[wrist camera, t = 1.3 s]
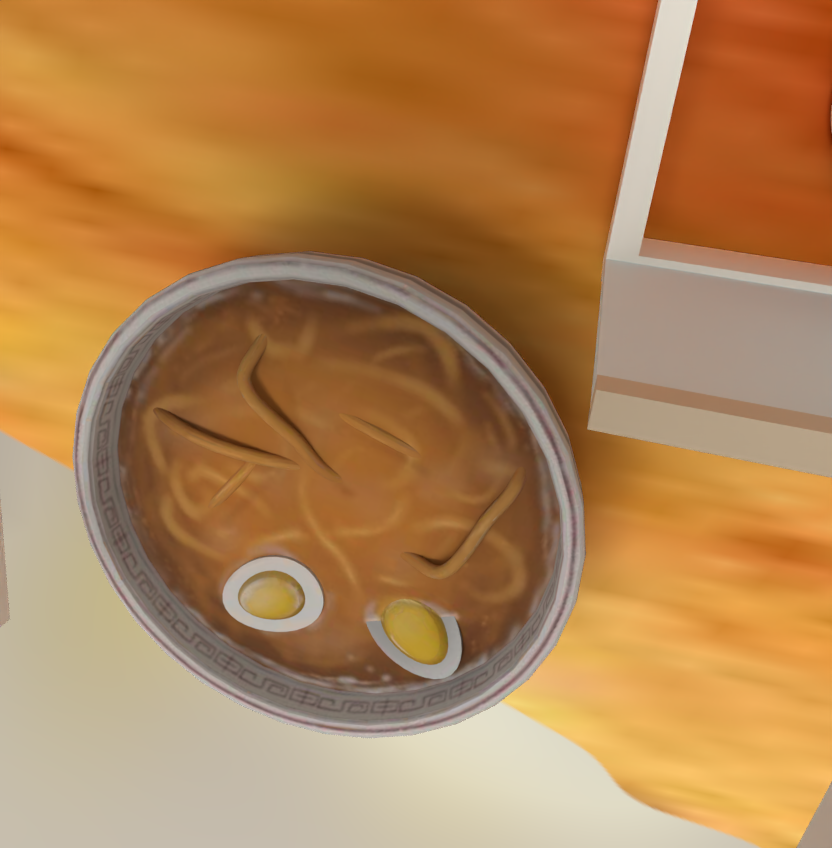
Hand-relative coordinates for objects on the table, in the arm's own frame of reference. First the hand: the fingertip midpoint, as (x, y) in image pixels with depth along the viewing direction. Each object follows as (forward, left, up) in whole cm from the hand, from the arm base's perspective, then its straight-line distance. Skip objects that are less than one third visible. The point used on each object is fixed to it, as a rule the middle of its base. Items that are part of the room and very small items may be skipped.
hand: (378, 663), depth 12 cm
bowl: (+10, -7, -28) cm, 30 cm away
